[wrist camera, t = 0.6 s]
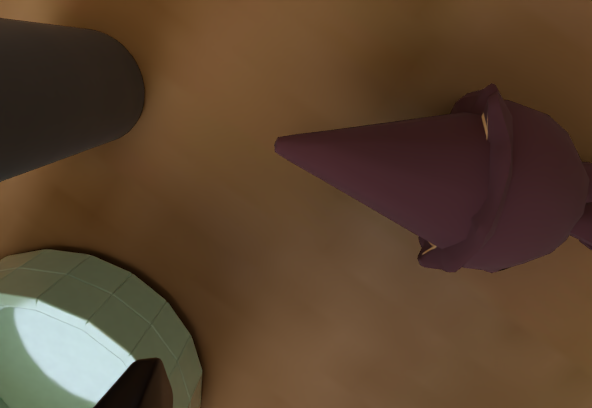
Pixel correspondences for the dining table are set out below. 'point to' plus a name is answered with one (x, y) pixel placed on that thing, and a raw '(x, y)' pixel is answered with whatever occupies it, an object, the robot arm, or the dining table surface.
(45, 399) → the bowl
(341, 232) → the dining table surface
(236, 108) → the dining table surface
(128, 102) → the pepper mill
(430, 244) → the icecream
